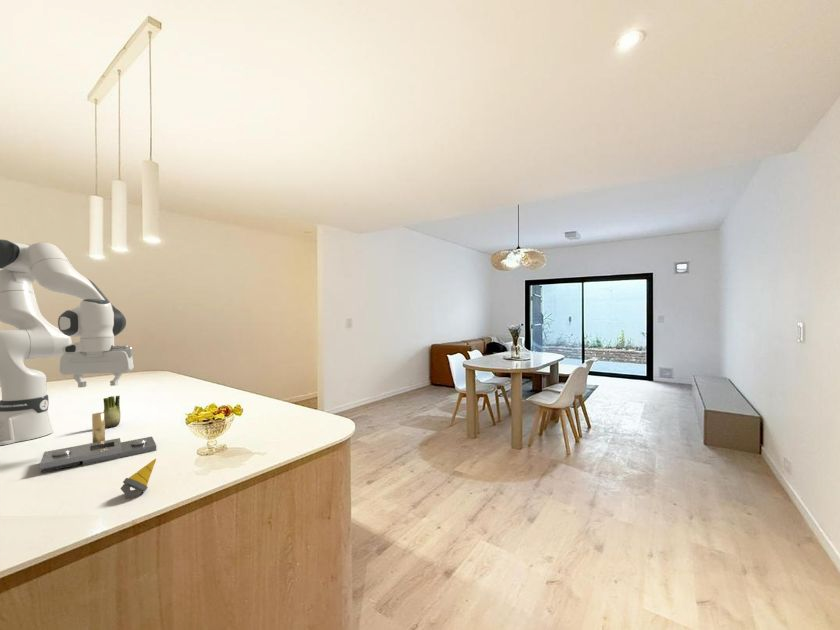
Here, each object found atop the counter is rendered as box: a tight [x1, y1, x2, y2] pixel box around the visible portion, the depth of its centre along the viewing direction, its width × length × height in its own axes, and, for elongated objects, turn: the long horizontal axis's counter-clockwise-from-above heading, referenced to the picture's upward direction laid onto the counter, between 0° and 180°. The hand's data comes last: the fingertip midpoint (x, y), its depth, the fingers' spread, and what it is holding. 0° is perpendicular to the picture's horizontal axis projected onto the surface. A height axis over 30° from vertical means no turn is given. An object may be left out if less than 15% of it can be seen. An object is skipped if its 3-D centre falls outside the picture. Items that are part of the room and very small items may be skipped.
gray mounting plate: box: [39, 436, 157, 473], centre depth 112 cm, size 26×12×4 cm, turn 132°
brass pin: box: [91, 411, 106, 443], centre depth 124 cm, size 3×3×10 cm
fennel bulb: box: [103, 395, 121, 428], centre depth 142 cm, size 6×5×12 cm
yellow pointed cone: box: [120, 458, 157, 500], centre depth 89 cm, size 5×5×10 cm
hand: (98, 386), depth 124 cm, fingers open, 8 cm apart
